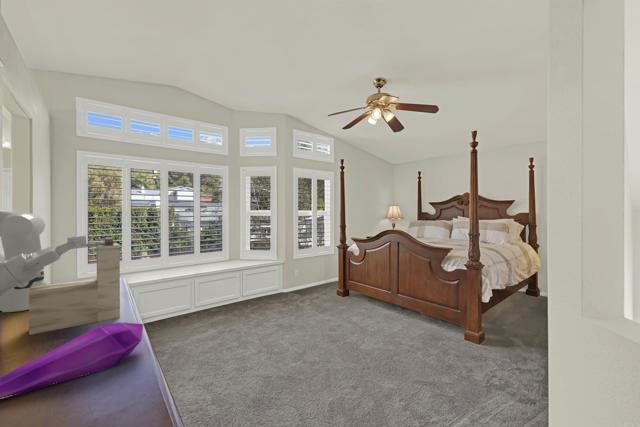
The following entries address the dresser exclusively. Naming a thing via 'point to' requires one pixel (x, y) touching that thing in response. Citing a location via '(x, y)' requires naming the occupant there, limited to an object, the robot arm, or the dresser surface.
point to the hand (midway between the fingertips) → (73, 243)
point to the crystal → (75, 358)
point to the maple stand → (79, 296)
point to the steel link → (82, 242)
